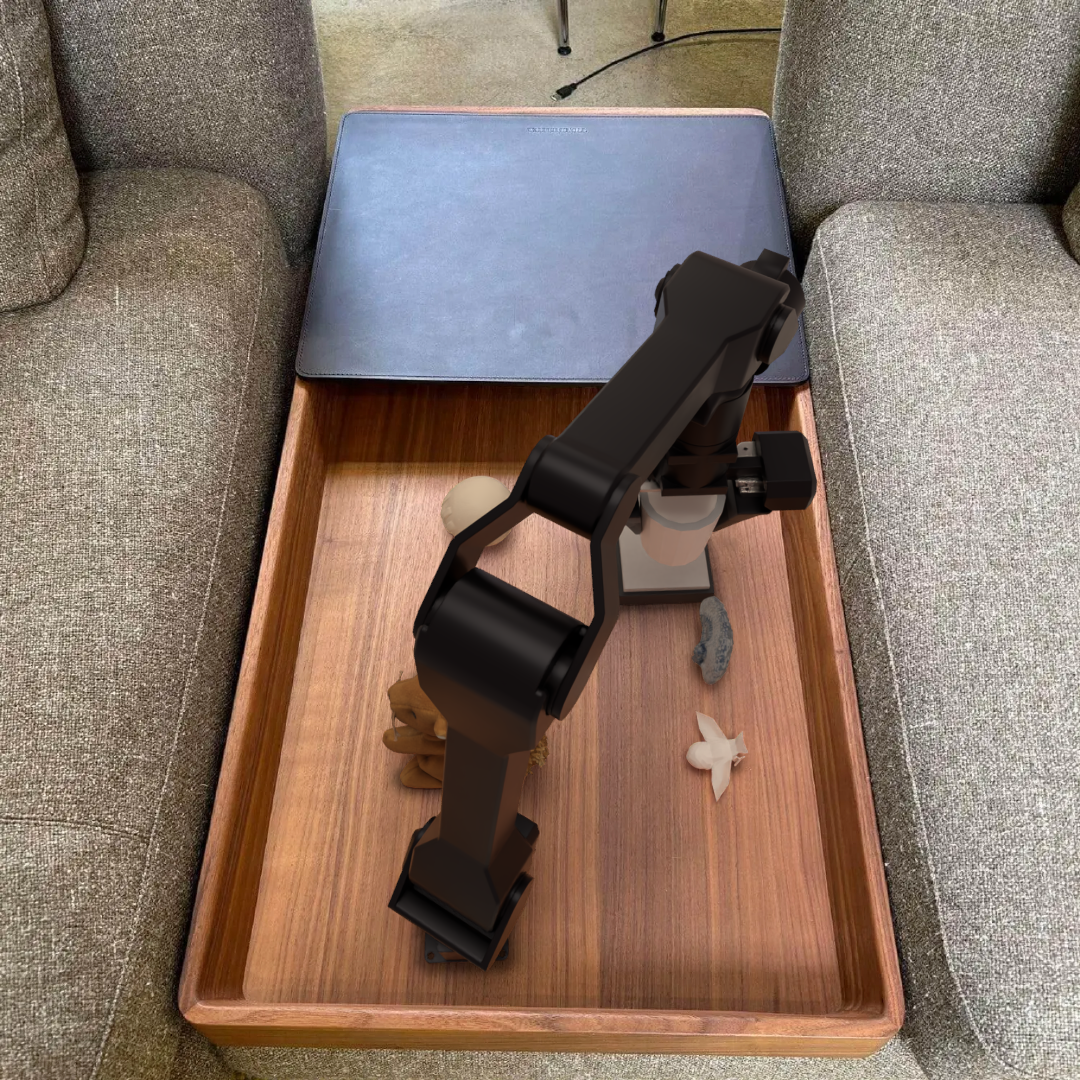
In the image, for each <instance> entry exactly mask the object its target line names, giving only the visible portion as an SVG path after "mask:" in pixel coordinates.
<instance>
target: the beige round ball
mask: <svg viewBox="0 0 1080 1080" xmlns="http://www.w3.org/2000/svg"><path fill="white" fill-rule="evenodd" d="M510 494H511V490H510V489H509V487H508V486H507V485H505V483H503V482H502V481H501V480H500V479H497V478H495V477H492V476H489V475H475V476H470V477H467V478H465V479H463V480H461V481H460V482H458V483H456V484H455V485H454V486H453V487H452V488H451V489H450V490H449V491H448V492H447V493H446V495H445V496H444V498H443V500H442V503H441V505H440V512H439V514H440V518H441V521H442V525H443V526H444V528H445V530H446V532H447V533H448V534H450V535H452V536H454V537H455V536H456V535H457V534H458V533H460V532H461V531H463V530H464V529H465V528H467V527H468V526H469V525H471V524H472V523H474V522H475V521H476V520H478V519H479V518H481V517H482V516H483V515H485V514H486V513H487V512H489V511H490V510H492V509H493V508H494V507H496V506H497V505H499V504H500V503H501V502H503V501H504V500H506V499H507V498H508V497H509V496H510ZM512 530H513V528H511V529H510V530H509V531H507V532H506V533H504V534H503V535H502V536H500V537H499V538H497V539H496V540H495V541H493V542H492V543H490V544H489V545H487V546H486V547H492V546H495V545H498V544H500V543H501V542H502V541H503V540H504V539H506V538H507V537H508V536H509V534H510V533H511V531H512ZM486 547H485V548H486Z"/></svg>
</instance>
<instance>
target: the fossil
mask: <svg viewBox="0 0 1080 1080" xmlns="http://www.w3.org/2000/svg"><path fill="white" fill-rule="evenodd" d="M698 609H699V610H698V611H699V622H700V625H701V627H702V628H701V637H700V640H699V642H698V643H697V644H696V645H695V646H694V648H693V651H692V652H693V655H692V656H691V661H692V662H693V663H694V664H697V665H698V666H699V667H700V669H701V676H702V678H703V681H704V683H705V684H706V685H708V686H713V685H715V684H716V683H717V682H718V681H720V680H721V679H722V678H723V677H724V676H725V674H726V673H727V672H728V671H727V670H728V667H729V664H730V660H731V657H732V654H733V650H734V644H735V641H734V631H733V628H732V625H731V622H730V618H729V614H728V611H727V609H726V607H725V604H724V602H722V601H721V600H720V598H718V597H717V596H715V595H714V596H712V597H708V598H706V599H704V600H703V601H702V603H700V606H699V608H698Z"/></svg>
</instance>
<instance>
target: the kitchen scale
mask: <svg viewBox="0 0 1080 1080" xmlns="http://www.w3.org/2000/svg"><path fill="white" fill-rule="evenodd" d="M638 496H639V495H638ZM639 506H640V500H639ZM616 557H617V573H618V588H619V604H620V606H644V605H646V606H647V605H671V604H672V605H676V604H701V603H702V601H703V600H704V599H706V598H708V597H712V596H715V594H716V592H715V585H714V578H713V572H712V566H711V565H712V563H711V558H710V551H709V544H708V543H707V544H706V546H705V548H704V550H703V552H702V553H701V554H700V555H699V556H698V558H697V559H696V560H694V561H692V562H690V563H688V564H686V565H681V566H669V565H665V564H661V563H659V562H657V561H656V560H654V559H653V558H651V557H650V556H649V555H648V554H647V552H646V551H645V550H644V548H643V547H642V542H641V536H640V535H635V534H634V533H633V532H632V531H631V530H630V529H629V528H628V527H627V526H626V525H625V527H624V529H623V531H622V533H621V535H620V537H619V539H618V541H617V543H616Z"/></svg>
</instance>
